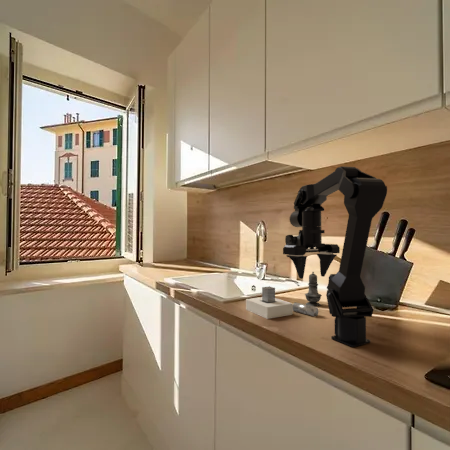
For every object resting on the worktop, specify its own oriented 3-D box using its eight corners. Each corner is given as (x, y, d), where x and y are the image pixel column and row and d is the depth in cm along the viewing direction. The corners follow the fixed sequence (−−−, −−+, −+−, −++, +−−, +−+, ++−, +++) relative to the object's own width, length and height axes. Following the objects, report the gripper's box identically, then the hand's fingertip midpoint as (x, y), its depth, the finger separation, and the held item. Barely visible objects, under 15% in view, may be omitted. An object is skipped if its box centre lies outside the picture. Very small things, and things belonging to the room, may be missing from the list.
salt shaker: (316, 307, 102) (316, 273, 102) (301, 304, 106) (301, 271, 107) (324, 304, 106) (324, 271, 107) (309, 301, 111) (309, 269, 111)
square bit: (275, 312, 96) (275, 288, 96) (267, 313, 95) (267, 288, 95) (269, 310, 99) (269, 286, 99) (262, 311, 97) (262, 287, 98)
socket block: (292, 314, 94) (292, 303, 94) (267, 318, 89) (267, 307, 89) (269, 305, 104) (269, 296, 105) (245, 309, 100) (245, 299, 100)
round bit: (317, 317, 93) (319, 307, 93) (312, 316, 91) (313, 306, 91) (297, 311, 99) (298, 302, 100) (291, 311, 97) (292, 301, 98)
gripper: (313, 227, 102) (314, 272, 102) (271, 226, 93) (271, 276, 93) (340, 226, 93) (341, 276, 92) (295, 226, 84) (296, 281, 83)
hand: (312, 277), depth 90 cm, fingers open, 9 cm apart
